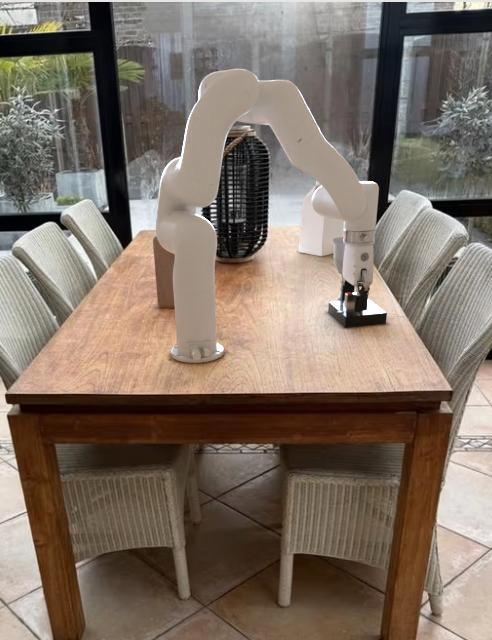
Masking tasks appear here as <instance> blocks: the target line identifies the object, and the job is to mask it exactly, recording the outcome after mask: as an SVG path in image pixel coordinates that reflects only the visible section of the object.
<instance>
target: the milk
mask: <svg viewBox="0 0 492 640" xmlns="http://www.w3.org/2000/svg"><path fill="white" fill-rule="evenodd" d="M320 186H322V185H321V184H320V183H319V182H318V181H317V180H315V185H313V187H312V188H311V189H310V191H308V193H306V195H304V197H303V200H302V205H301V207H302V208H301V217H300V218H301V219H300V229H299V240H298V250H297V251H298V253H301V254H308V255H312V256H316V257H317V256H318V257H324V256H329V255H333V254H334V242H333V239H334V238H338V237H344V221H341V220H337V219H331V218H327V217H323V216H321V215H319V214H318V213H316V211H315V210H314V208H313V206H312V197H313V194H314V192H315V191H316V190H317V189H318V188H319V187H320Z"/></svg>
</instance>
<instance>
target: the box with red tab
mask: <svg viewBox="0 0 492 640" xmlns="http://www.w3.org/2000/svg"><path fill="white" fill-rule="evenodd" d="M355 295H357V293H356V292H354V293H350V292H347V293H345V302H344V311H345V312H357V311H354V304H355Z"/></svg>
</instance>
